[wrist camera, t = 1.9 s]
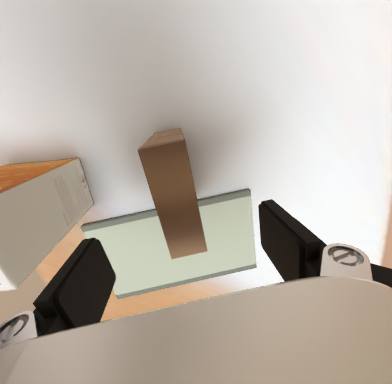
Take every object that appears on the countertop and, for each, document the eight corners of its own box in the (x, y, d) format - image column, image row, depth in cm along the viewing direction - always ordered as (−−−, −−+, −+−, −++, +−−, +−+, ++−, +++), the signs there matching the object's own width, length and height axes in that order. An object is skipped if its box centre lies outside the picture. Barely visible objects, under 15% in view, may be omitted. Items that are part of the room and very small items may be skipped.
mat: (82, 224, 25) (80, 227, 25) (248, 188, 26) (250, 190, 25) (118, 295, 31) (117, 299, 30) (254, 264, 31) (256, 267, 31)
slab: (154, 133, 22) (137, 149, 12) (180, 128, 22) (184, 140, 12) (172, 201, 25) (171, 259, 15) (194, 196, 25) (207, 251, 15)
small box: (79, 156, 22) (-35, 207, 10) (95, 204, 24) (18, 292, 12) (6, 162, 21) (-209, 225, 9) (29, 212, 24) (-117, 310, 12)
